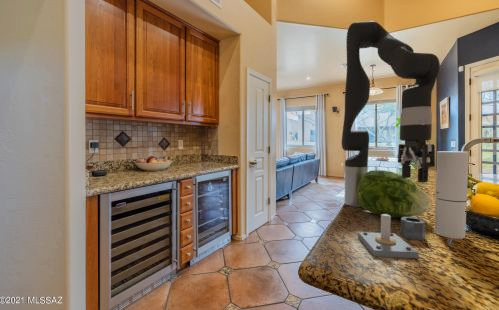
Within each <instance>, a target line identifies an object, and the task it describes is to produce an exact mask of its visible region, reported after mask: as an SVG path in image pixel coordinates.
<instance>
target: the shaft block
mask: <svg viewBox="0 0 499 310" xmlns="http://www.w3.org/2000/svg"><path fill="white" fill-rule="evenodd" d="M391 220H392V218H391V216H390V215H387V214H382V215H381V216H380V232H369V231H368V232H367V231H366V232H365V231H358V232H357V237H358V239H359V240H360V241H361V242H362V243H363V245H364V246H365V247H366V248H367V250H368V251H369V252H370V253H371V254H372V255H373V256H374V257H378V258H380V257H382V258H400V259H401V258H403V259H405V258H406V259H419V251H417V249H415V248H414V247H412V246H411V245H410V244H408V243H407V242H406V241H405V240H403V239H402V238H401V236H398V235H397V234H396V233H393V232H392V233H391Z"/></svg>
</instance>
